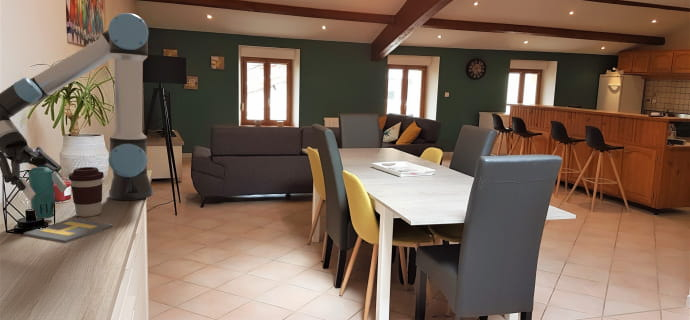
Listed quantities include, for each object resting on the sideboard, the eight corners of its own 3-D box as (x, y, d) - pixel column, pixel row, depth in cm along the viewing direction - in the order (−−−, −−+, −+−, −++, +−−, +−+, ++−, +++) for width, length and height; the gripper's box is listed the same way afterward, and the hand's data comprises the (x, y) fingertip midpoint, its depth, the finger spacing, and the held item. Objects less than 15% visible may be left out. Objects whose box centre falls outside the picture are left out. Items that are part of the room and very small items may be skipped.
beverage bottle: (38, 225, 150) (33, 159, 146) (27, 221, 153) (21, 157, 150) (60, 220, 155) (56, 156, 152) (49, 216, 159) (44, 154, 155)
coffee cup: (90, 219, 156) (87, 172, 154) (64, 216, 159) (60, 170, 156) (112, 211, 166) (110, 167, 163) (87, 209, 168) (84, 165, 166)
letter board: (72, 220, 155) (72, 218, 155) (112, 226, 150) (112, 224, 150) (23, 234, 141) (23, 232, 141) (65, 242, 135) (65, 240, 135)
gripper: (36, 142, 166) (74, 193, 163) (-36, 151, 145) (7, 209, 143) (46, 127, 164) (86, 178, 161) (-26, 134, 143) (18, 193, 140)
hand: (49, 193), depth 152 cm, fingers open, 10 cm apart
